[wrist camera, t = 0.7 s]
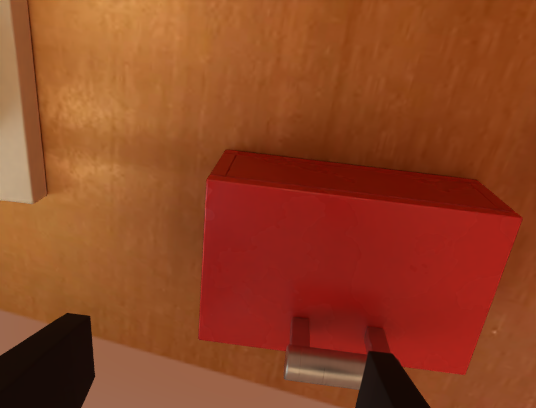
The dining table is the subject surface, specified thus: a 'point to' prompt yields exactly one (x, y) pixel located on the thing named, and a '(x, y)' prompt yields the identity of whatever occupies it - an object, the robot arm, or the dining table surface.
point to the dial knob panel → (19, 109)
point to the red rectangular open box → (357, 179)
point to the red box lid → (348, 277)
